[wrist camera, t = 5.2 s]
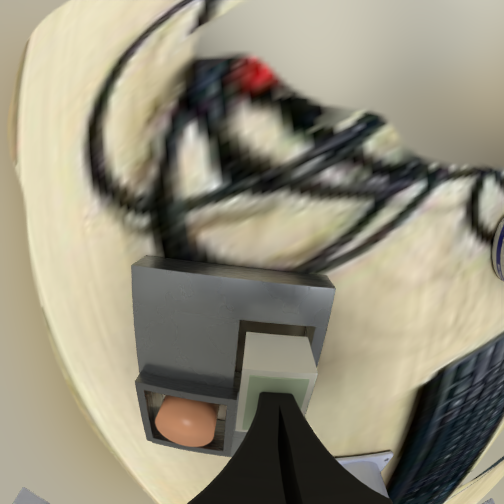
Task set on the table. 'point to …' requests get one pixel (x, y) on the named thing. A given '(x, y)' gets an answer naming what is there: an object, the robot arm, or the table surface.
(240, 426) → the on key
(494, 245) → the energy drink
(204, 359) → the panel
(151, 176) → the table surface
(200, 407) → the button
